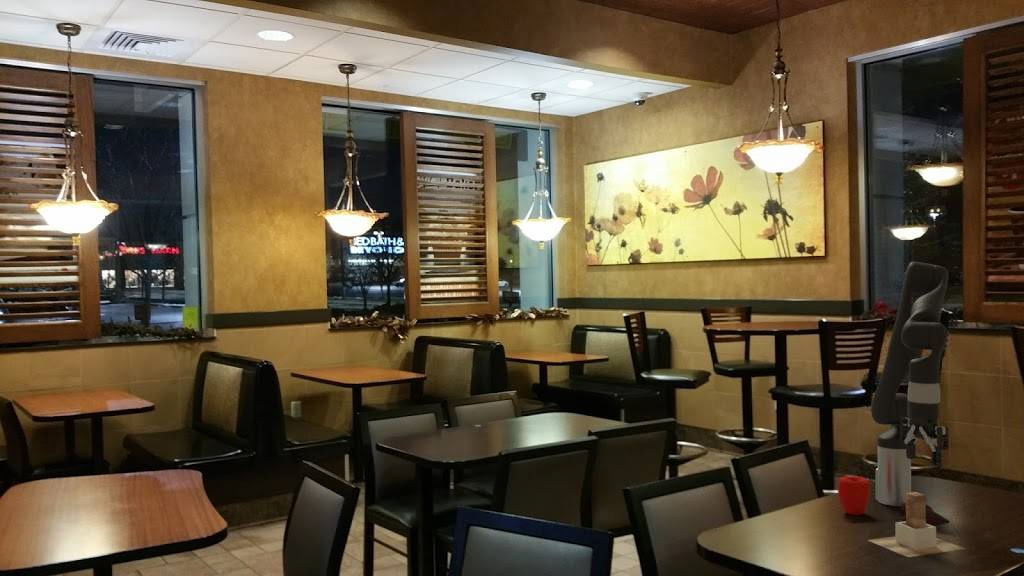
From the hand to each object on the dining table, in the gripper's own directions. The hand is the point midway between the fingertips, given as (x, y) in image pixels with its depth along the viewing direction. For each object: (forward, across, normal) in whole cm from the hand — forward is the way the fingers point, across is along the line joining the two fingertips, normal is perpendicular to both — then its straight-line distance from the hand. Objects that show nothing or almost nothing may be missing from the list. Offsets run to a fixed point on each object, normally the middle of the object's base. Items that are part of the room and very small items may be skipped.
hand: (923, 462), depth 218 cm
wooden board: (+21, -2, +4) cm, 22 cm away
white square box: (+20, -2, +4) cm, 21 cm away
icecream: (+22, +10, -10) cm, 26 cm away
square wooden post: (+19, -2, +4) cm, 20 cm away
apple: (+22, +29, -2) cm, 36 cm away
